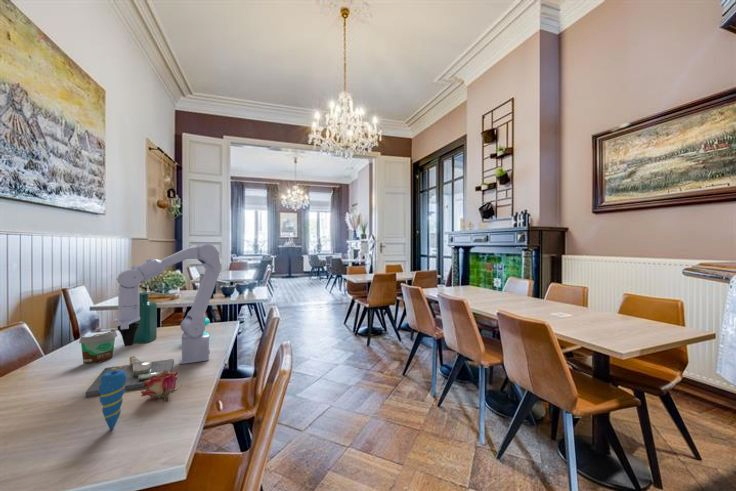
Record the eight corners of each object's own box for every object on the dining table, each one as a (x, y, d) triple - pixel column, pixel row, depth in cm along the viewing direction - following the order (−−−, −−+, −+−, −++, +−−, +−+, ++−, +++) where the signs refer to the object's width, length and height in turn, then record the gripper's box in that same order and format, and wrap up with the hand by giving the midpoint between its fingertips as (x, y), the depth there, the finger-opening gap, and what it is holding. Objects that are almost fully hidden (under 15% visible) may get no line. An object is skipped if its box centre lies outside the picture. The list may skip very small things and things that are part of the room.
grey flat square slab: (173, 363, 118) (173, 354, 118) (167, 384, 100) (168, 374, 100) (105, 372, 109) (105, 363, 109) (85, 397, 91) (85, 386, 91)
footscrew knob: (153, 372, 105) (153, 363, 105) (135, 377, 101) (135, 367, 101) (140, 362, 114) (140, 354, 114) (123, 366, 110) (123, 357, 110)
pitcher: (138, 338, 149) (139, 290, 149) (158, 337, 150) (158, 290, 150) (125, 344, 139) (125, 293, 139) (146, 344, 140) (146, 293, 140)
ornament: (108, 423, 78) (109, 361, 78) (131, 422, 79) (131, 361, 79) (92, 436, 73) (93, 370, 73) (116, 435, 73) (117, 369, 73)
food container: (92, 366, 114) (92, 338, 114) (78, 365, 116) (79, 337, 116) (125, 355, 126) (125, 329, 126) (112, 353, 128) (112, 328, 128)
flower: (191, 390, 93) (183, 364, 95) (162, 397, 84) (154, 368, 87) (166, 406, 94) (160, 380, 97) (136, 414, 86) (129, 386, 88)
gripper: (119, 302, 113) (119, 341, 113) (108, 310, 100) (108, 354, 100) (143, 301, 116) (143, 338, 117) (136, 308, 104) (136, 350, 104)
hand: (129, 345), depth 109 cm, fingers closed
